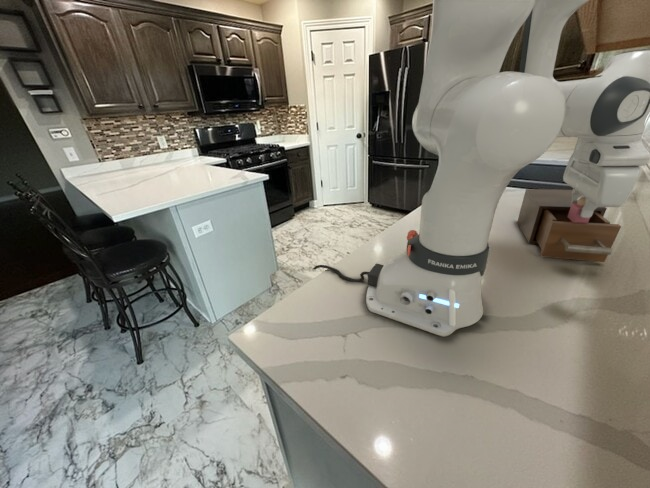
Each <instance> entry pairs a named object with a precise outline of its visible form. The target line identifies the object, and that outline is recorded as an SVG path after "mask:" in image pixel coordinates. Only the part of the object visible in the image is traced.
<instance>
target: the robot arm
mask: <svg viewBox="0 0 650 488" xmlns="http://www.w3.org/2000/svg"><path fill="white" fill-rule="evenodd" d="M589 1H590V0H432V13H431V27H430V37H429V44H428V51H427V56H426V61H425V66H424V71H423V75H422V81H421V86H420V93H419V97H418V98H419V99H418V103H417V105H416V107H415V110H414V111H413V115H412V121H411V127H412V131H413V135H414V137H415V138H416V140H417V142H418V143H419V144H420V145H421V146H422V147H423V149H424V150H426V151H428V152H429V153H432V154H433V155H436V156H438V163H437V168H436V172H435V174H434V177H433V181H432V183H431V186H430V188H429V190H428V191H427V192H425V193H424V194H423V197H422V199H421V205H420V206H421V207H420V220H419V230H418V231H419V233H418V232H417V230H415V229H410V230H409V231H408V232H407V236H406V240H407V243H406V251H403V252H402V253H400V254H398V255H395V256H393V257H391V258H389V259H388V260H386V261H385V263H384V264H381V263H378V262H377V263H375V264H374V265H373V267H372V268H371V269H370V271H362V272H360V275H359V276H360V278H352V277H349V276H346V275H344V274H343V273H342V272H341V271H340V270H338V269H336V268H335V267H332V266H329V265H325V264H318V265H314V267H313V268H312V269H313V270H317V269H319V268H320V269H321V268H323V269H327V270H330V271H333V272H334V273H337V274H338V276H339V277H340V278H342V279H343V280H346V281H349V282H351V283H352V282H353V283H361V282H363V281H364V280H365V276H366V275H367V285H368V287H367V290H366V296H365V297H366V298H365V303H366V307H367V309H368V310H369V312H371V313H374V314H376V315H379V316H382V317H384V318H388V319H391V320H394V321H396V322H400V323H402V324H405V325H408V326H410V327H413V328H416V329H419V330H422V331H426V332H428V333H431V334H434V335H437V336H439V337H448V336H450V335H452V334H453V333H454V332H456V331H457V330H459V329H463V328H466V327H470V326H473V325H475V324H476V323H478V322H479V321H480V320H481V318H482V317H483V314H484V305H483V299H482V280H483V279H482V278H483V276H484V275H485V272H486V270H487V266H488V262H489V257H490V245H489V244H490V243H489V238H490V234H491V231H492V227H493V222H494V218H495V214H496V210H497V208H498V205H499V202H500V200H501V197H502V195H503V193H504V192H505V190H506V188H507V187H508V185H510V182H511V181H512V180H513V179H514V177H515V176H516V174H518V173H519V172H520V171H521V170H522V169H523V168H525V167H527V166H529V165H530V164H532V163H534V162H535V161H536V160H538V159H539V158H540V157H541V156H542V155H544V154H545V153H546V152H547V151H548V150H549V149H550V148H551V146H553V144H554V142H555V141H556V139H557V138H558V137H559V138H577V140H576V143H575V146H574V149H573V152H572V153H571V155H570V157H569V159H568V162H567V164H566V167H565V169H564V172H563V175H562V181H563V182H564V183H565V184H566V185H568V186H569V187H571V188H572V189H571V190H572V202H571V205H572V203H577V201H578V199H579V198H581V197H585V198H586V200H585V202H586V203H585V205H584V206H583V208H580V212H579V215H580V216H581V217H583V218H590V217H591V216H592V214H593V212H594V210H595V209H596V208H597V207H606V208H620V207H622V206H623V205H624V204H625V203H626V202H627V201H628V199H629V198H630V195H631V194H632V192H633V190H634V189H635V186H636V185H637V182H638V179H639V177H640V173H641V169H640V167H642V166H643V167H644V166H646V165H648V163H649V161H650V151H649V150H648V149H647V148H646V146H645V145H644V143H643V140H642V137H643V134H644V133H645V129H646V127H645V125H646V121H647V118H648V116H649V114H650V48H643V49H635V50H628V51H624V52H620V53H618V54H615V55H613V56H611V57H610V58H609V59H608V61H607V62H606V63H605V66H604V67H603V70H602V71H601V72H600V73H598V74H596V75H594V77H589V78H588V77H587V78H583V79H573V80H565V81H558V80H557V79H555V78H554V70H555V65H556V60H557V55H558V51H559V45H560V40H561V35H562V32H563V29H564V27H565V25H566V23H567V22H568V20H569V19H570V17H572V15H573V14H574V13H575V12H576V11H577V10H578V9H580V8H581V7H582V6H583V5H585V4H586V3H588V2H589ZM524 23H525V25H524ZM523 25H524V31H523V38H522V39H523V40H522V48H521V55H520V65H519V71H513V70H511V71H501V69H502V66H503V63H504V61H505V58H506V56H507V54H508V51H509V49H510V46H511V44H512V43H513V41H514V38H515V37H516V35H517V33H518V32H519V30H520V28H521V27H522V26H523ZM571 205H570V207H571ZM364 275H365V276H364Z"/></svg>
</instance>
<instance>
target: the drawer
mask: <svg viewBox="0 0 650 488" xmlns="http://www.w3.org/2000/svg"><path fill="white" fill-rule="evenodd" d="M568 213H569V210H555V209H543V210H542V213H541V217H540V220H539V223H538V226H537V230H536V233H535V236H534V237H535V239H536V241H537V242H538V244H537V245H538V246H539V247H540V252H539V254H540V256H541V257H543V258H544V257H545V258H554V259H563V260H564V259H565V260H576V261H586V262H596V263H597V262H598V263H605V262H606V260H607V258H608V256H610V255H612V252H613V249H612V247H613V245H614V243H615V241H616V239H617V236H618V234H619V232H620V230H621V228H622V225H620V224H618V223H611V222H610V221H609V220H608V219H607V218H606V217H604V216H601V215H600V214H599V213H598V212H596V211H594V212H593V214H592V216H591V217H590V219H589V222H588V223H583V222H572V221H571V220H570V219H569V218H568V217H567V216H568Z"/></svg>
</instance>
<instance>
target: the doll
mask: <svg viewBox="0 0 650 488" xmlns="http://www.w3.org/2000/svg"><path fill="white" fill-rule="evenodd" d="M585 200H586V198H585V197H581V198H579V199H578V201H577V203H572V205H571V208H570V210H569V213H568V216H567V217H568V218H569V219H570V220H571V221H572V222H583V223H588V222H589V219H590V218H583V217H581V216H580V215H579V212H580V208H583V206H584V205H585V203H586V202H585Z"/></svg>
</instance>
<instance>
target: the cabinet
mask: <svg viewBox="0 0 650 488" xmlns="http://www.w3.org/2000/svg"><path fill="white" fill-rule="evenodd" d="M572 190H573V189H547V188H544V189H543V188H542V189H541V188H537V189H536V188H526V189H525V191H524V195H523V199H522V202H521V205H520V206H521V207H520V210H519V213H518V217H517V221H516V222H517V225H518V226H519V228H520V230H521V232H522V234H523V235H524V237H525V239H526V242H527V243H528V244H530V245H539V244H538V242H537V241H536V239H535V237H534V236H535V233H536V230H537V226H538V223H539V220H540V217H541V213H542V210H543V209H555V210H570V208H571V207H570V205H571V202H572ZM607 208H608V207H597V208H596V209H595V210H594V211H596V212H598V213H599V214H600V215H601V216H603V217H604V216H605V214H606V211H607Z"/></svg>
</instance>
